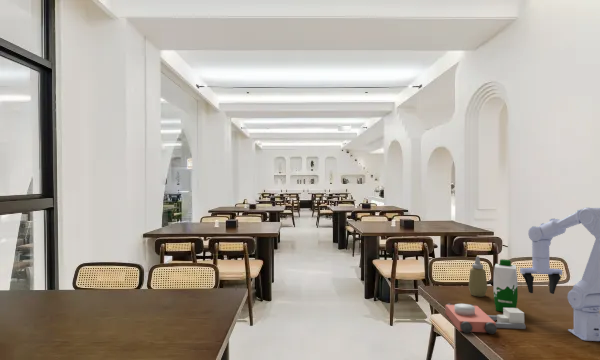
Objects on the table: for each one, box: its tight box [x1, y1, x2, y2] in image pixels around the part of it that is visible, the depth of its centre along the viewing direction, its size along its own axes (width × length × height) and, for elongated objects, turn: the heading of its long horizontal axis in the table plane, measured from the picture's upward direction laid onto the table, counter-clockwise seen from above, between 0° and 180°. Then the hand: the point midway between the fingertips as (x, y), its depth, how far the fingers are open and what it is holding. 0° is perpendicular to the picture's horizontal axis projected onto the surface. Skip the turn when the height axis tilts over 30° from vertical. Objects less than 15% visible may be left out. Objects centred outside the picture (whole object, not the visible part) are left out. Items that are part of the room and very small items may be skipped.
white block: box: [496, 307, 525, 324], centre depth 148 cm, size 6×8×5 cm
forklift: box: [444, 303, 527, 335], centre depth 149 cm, size 23×24×6 cm
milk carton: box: [493, 258, 519, 313], centre depth 165 cm, size 9×9×20 cm
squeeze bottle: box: [468, 255, 488, 298], centre depth 188 cm, size 8×8×18 cm
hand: (541, 292), depth 155 cm, fingers open, 7 cm apart
